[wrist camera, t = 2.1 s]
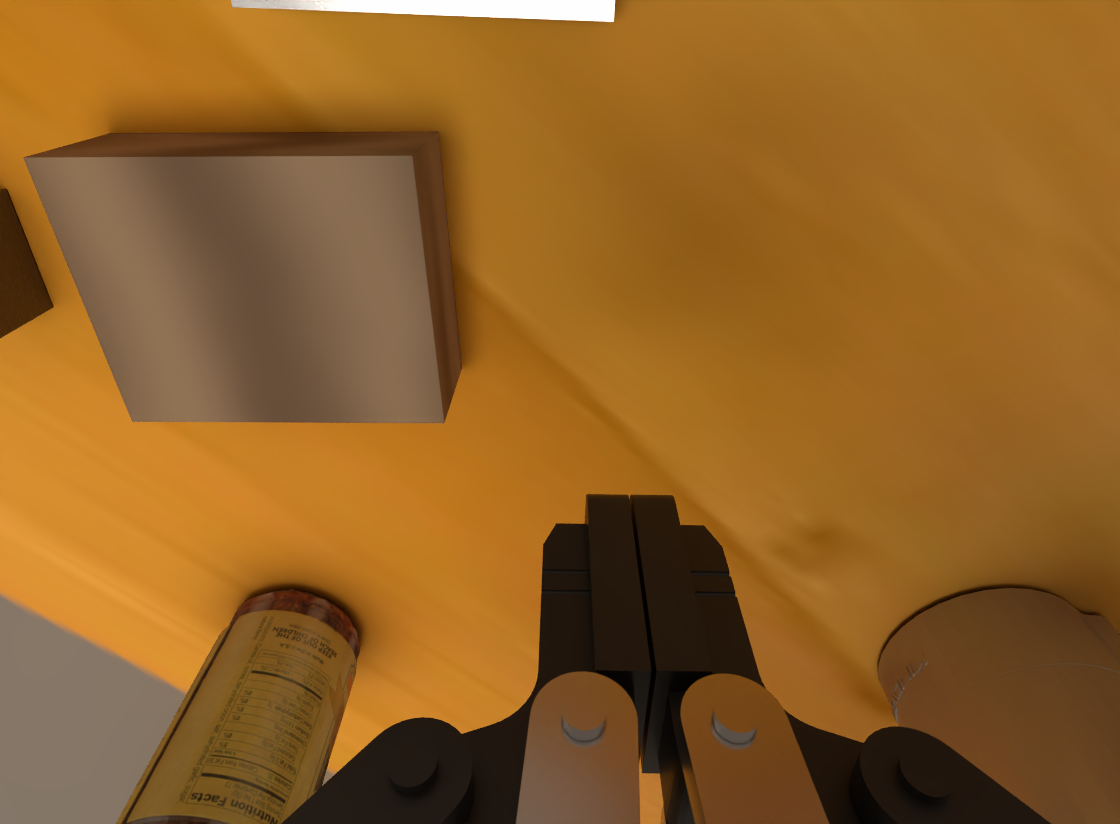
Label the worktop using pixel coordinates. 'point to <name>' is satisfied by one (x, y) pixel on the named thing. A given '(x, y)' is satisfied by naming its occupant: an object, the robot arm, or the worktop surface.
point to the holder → (455, 7)
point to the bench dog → (17, 274)
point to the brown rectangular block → (262, 272)
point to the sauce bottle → (254, 718)
